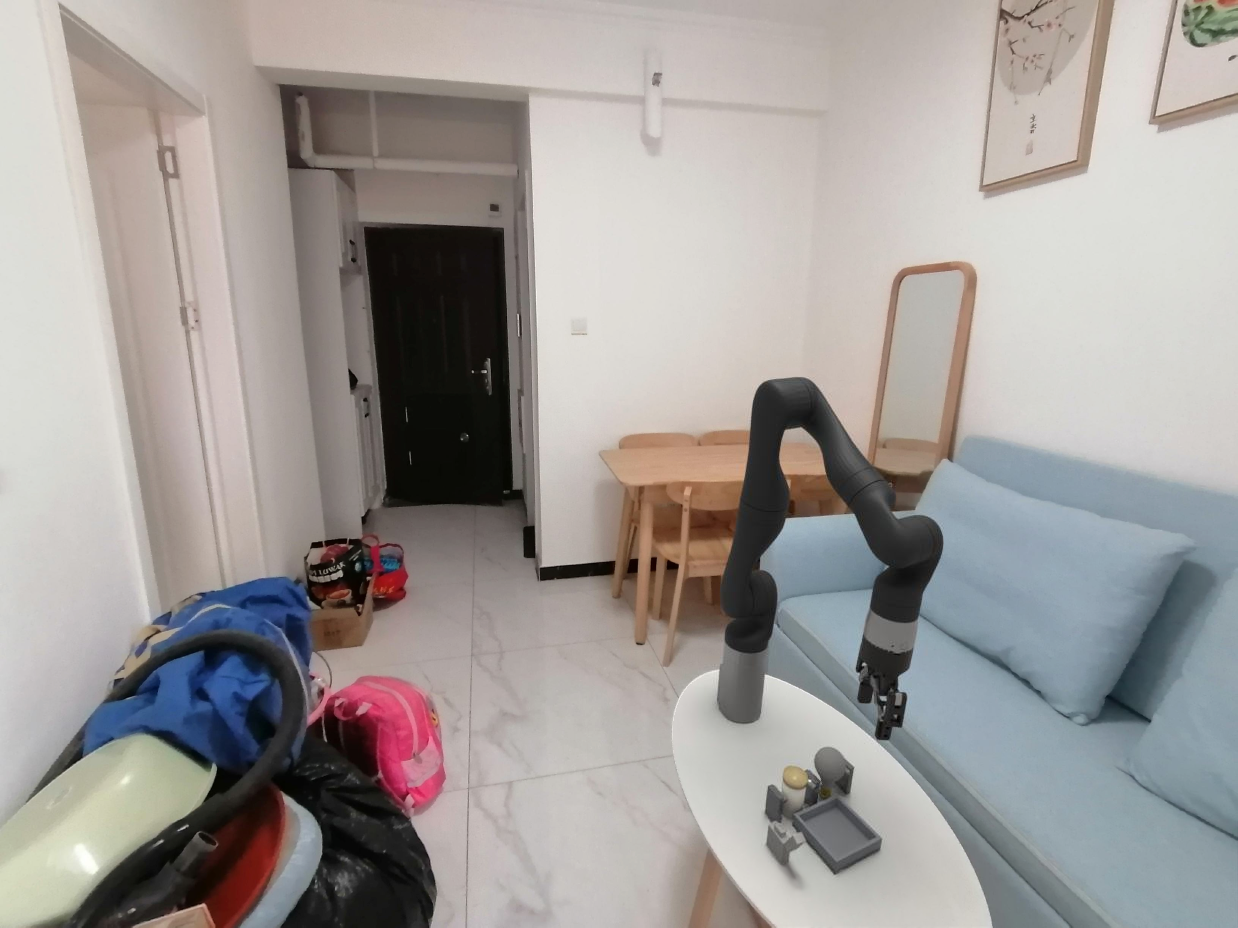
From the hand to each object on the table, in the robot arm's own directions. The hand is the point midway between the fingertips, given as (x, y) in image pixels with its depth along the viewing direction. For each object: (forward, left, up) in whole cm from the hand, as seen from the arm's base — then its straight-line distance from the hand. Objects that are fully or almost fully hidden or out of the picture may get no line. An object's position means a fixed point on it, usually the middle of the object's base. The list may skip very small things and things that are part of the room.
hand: (872, 719), depth 100 cm
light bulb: (-7, -1, -22) cm, 23 cm away
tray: (+1, -6, -21) cm, 22 cm away
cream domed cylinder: (-7, -9, -21) cm, 24 cm away
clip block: (-7, -5, -21) cm, 23 cm away
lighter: (0, -17, -22) cm, 27 cm away
